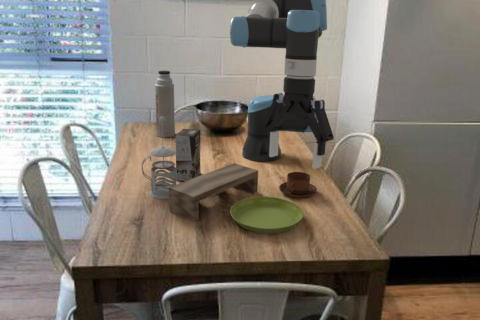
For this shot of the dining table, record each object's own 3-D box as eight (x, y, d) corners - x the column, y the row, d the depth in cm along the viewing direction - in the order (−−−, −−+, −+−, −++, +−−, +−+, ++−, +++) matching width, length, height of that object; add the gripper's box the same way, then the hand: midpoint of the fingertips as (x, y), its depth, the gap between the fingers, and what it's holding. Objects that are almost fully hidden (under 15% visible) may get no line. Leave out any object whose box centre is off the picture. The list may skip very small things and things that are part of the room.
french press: (180, 198, 157) (179, 120, 149) (142, 199, 155) (139, 121, 147) (178, 186, 166) (177, 112, 158) (143, 187, 164) (139, 113, 156)
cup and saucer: (315, 202, 157) (317, 184, 155) (277, 199, 159) (278, 180, 157) (316, 188, 168) (318, 170, 166) (281, 185, 170) (281, 167, 168)
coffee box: (193, 182, 170) (193, 136, 165) (175, 180, 171) (174, 134, 166) (201, 173, 178) (201, 129, 173) (183, 171, 179) (183, 127, 174)
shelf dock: (257, 192, 163) (258, 170, 160) (193, 221, 142) (193, 196, 139) (234, 184, 169) (234, 163, 167) (169, 211, 148) (168, 187, 145)
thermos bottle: (156, 137, 218) (154, 72, 209) (156, 132, 226) (154, 69, 216) (174, 137, 219) (173, 72, 210) (174, 132, 226) (173, 69, 217)
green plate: (234, 204, 154) (234, 194, 153) (302, 208, 153) (302, 198, 151) (225, 235, 135) (225, 224, 134) (303, 241, 133) (303, 230, 132)
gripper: (250, 72, 127) (247, 154, 133) (335, 83, 110) (327, 176, 116) (269, 70, 132) (266, 149, 138) (353, 81, 116) (345, 169, 122)
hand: (294, 161), depth 127 cm, fingers open, 13 cm apart
